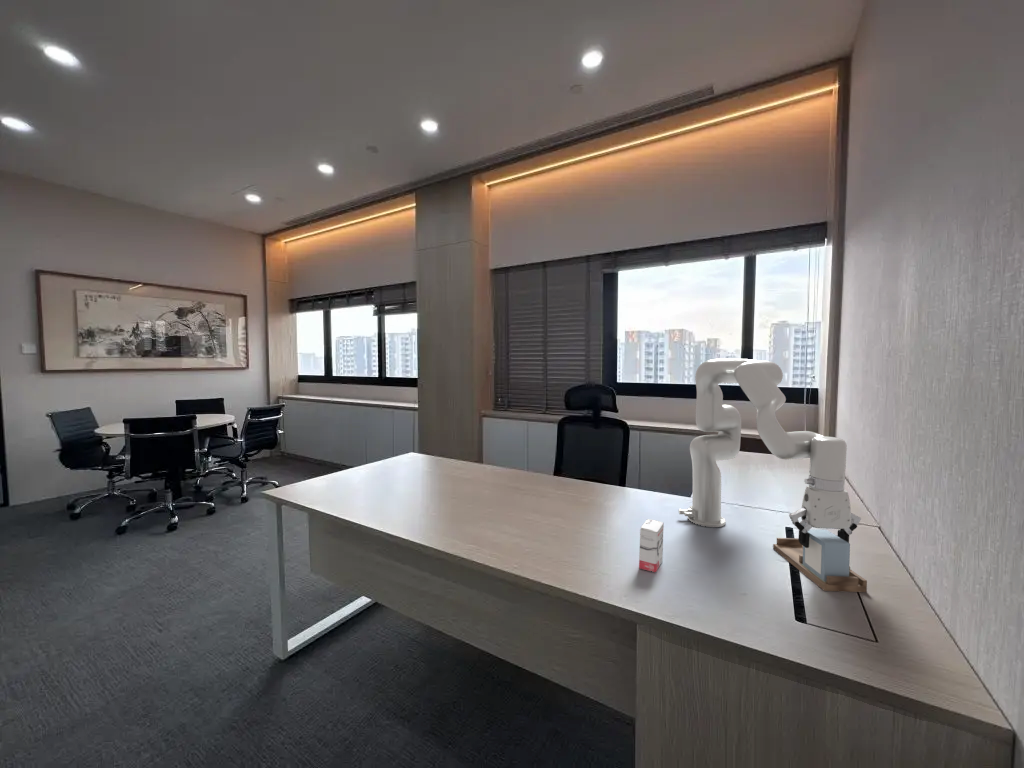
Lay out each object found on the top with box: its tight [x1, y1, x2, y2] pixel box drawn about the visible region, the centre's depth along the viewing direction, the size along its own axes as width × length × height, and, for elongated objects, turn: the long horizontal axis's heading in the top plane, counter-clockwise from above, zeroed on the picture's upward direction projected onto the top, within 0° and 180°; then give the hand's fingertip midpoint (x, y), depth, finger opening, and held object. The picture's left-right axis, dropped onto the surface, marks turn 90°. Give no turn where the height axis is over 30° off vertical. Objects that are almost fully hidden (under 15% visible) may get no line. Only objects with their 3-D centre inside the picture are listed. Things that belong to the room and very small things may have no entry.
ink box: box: [638, 519, 665, 573], centre depth 119 cm, size 9×5×12 cm, turn 148°
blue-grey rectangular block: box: [803, 528, 851, 581], centre depth 110 cm, size 6×9×10 cm
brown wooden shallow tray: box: [772, 537, 868, 593], centre depth 116 cm, size 10×24×4 cm, turn 175°
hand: (823, 546), depth 111 cm, fingers open, 9 cm apart
